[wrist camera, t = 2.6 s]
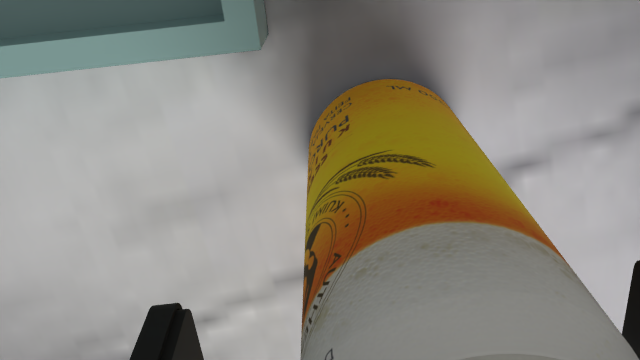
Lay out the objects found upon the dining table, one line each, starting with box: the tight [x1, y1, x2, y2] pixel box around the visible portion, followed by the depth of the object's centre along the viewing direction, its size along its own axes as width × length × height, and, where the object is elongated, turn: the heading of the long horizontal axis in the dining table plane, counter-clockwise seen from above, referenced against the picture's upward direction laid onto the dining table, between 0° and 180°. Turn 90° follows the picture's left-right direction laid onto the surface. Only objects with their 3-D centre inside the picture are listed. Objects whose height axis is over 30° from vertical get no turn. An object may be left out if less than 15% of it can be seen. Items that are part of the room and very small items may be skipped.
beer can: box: [301, 79, 639, 360], centre depth 15 cm, size 6×6×15 cm
